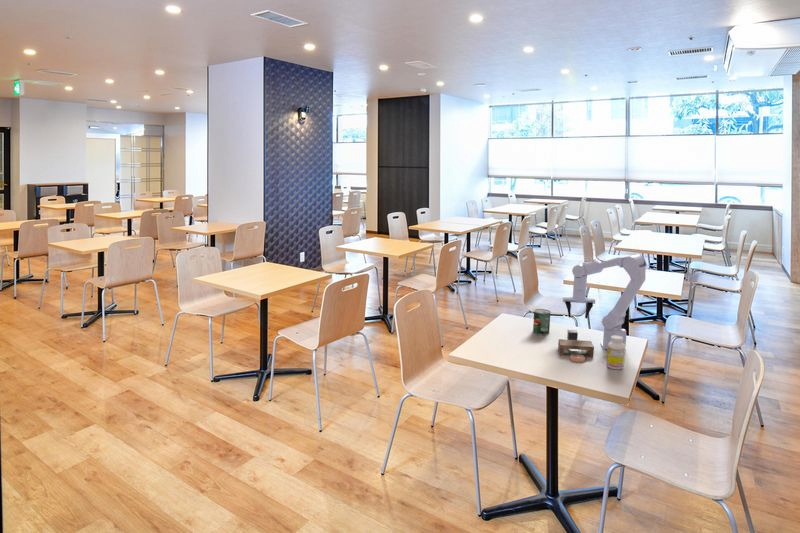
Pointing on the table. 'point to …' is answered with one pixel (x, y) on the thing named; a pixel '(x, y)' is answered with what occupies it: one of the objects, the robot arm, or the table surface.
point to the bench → (575, 346)
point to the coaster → (577, 358)
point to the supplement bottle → (616, 353)
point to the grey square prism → (573, 336)
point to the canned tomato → (541, 321)
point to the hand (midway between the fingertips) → (577, 317)
